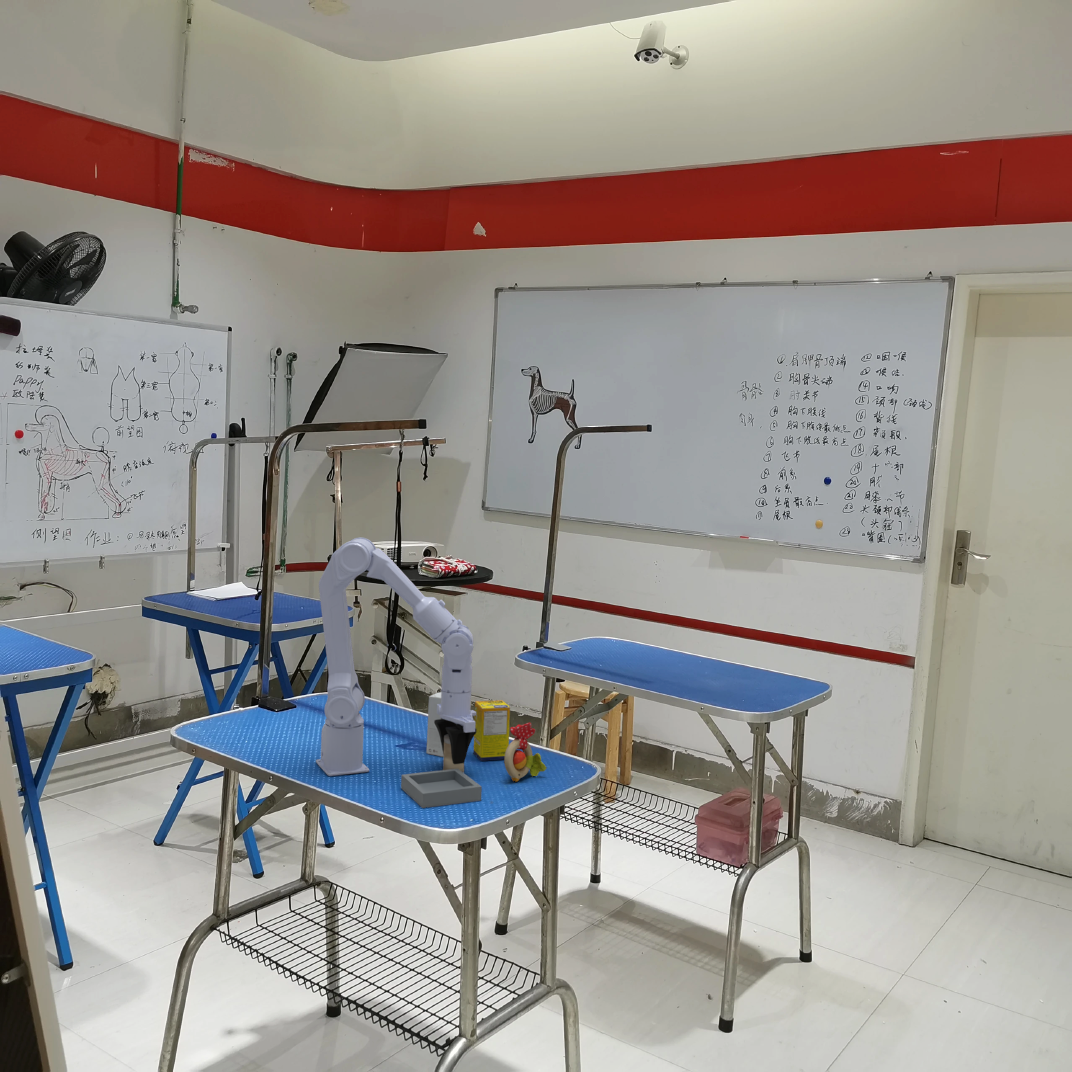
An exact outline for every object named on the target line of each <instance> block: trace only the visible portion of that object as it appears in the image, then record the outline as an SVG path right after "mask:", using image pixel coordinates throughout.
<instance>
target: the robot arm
mask: <svg viewBox="0 0 1072 1072" xmlns="http://www.w3.org/2000/svg"><path fill="white" fill-rule="evenodd" d="M365 571H368V572H367V574H366V577H367V578H372V579H375V580H376V579H377V580H381V581H384V583H385V584H386V585H387V586H388V587H389V588H391V590H393V591H394V592H395V593H396V594H397V595H398V596H399V597H400V598H401V600H403V601H405V603H406V604H407V605H408V606H410V607H411V608H412V619H413V621H415V622H416V623H417V625H419V626H420V627H421V628H422V629H423V630H424V631H425V632H426V633H427V634H428V635H429V637H430V638H432V640H434V641H435V642H436V643H439V644H440V646H441V647H440V648H441V651H442V654H443V665H442V666H441V688H440V689H441V690H440V692H441V704H437V714H438V715H439V716H440V718H441V719H438V720H434V723H435V725H436V727H437V730H438V732H439V735H440V739H441V744H442V750H443V754H444V736H445V735H447V734H448V736H449V739H450V744H451V754H452V761H453V764H461V763H464V764H465V761H466V758H467V754H468V750H469V747H470V745H471V742H472V740H473V739H474V735H475V734H476V731H477V729H476V728H475V721H474V720H475V719H474V718H473V717H475V716H476V712H475V709H474V710H473V709H472V708H471V707H472V706H471V705H472V686H473V685H472V684H473V666H472V661H473V657H472V653H473V650H474V636H473V635H474V634H473V633H472V632H471V630H470V629H469V627H468V626H466V625H465V624H463V621H462V620H461V619H460V618H459V619H456V617H455V616H454V615H452V613H451V612H450V611H449V610H448V609H447V608H446V607H445V606H446V603H445V602H444V600H443V599H440V600H439V599H438V598H436V597H434V596H425V595H424V594H423V593H422V592H421V591H420V589H419V588H418V587H417V586H416V585H415V584H414V582H412V581H411V580H410V579H409V577H408V576H407V575H406V574H405V572H403V571H402V569H400V568H399V566H397V564H396V563H395V562H394V561H393V560H392V559H391V557H389V556H388V555H387V554H386V553H385V551H383V550H382V549H380V548H379V547H376V545H375V544H374V543H373V542H372V541H371V540H370V539H368V538H366V537H361V536H360V537H355V538H353V539H351V540H349V541H347V542H345V543H343V544H342V545H341V546H339V548H338V549H336V550H335V551H334V552H333V553H332V555H331V557H330V559H329V562H328V563H327V565H326V568H325V569H324V571H323V572H322V575H321V577H320V579H319V581H318V591H319V592H318V593H319V600H320V601H319V602H320V609H321V610H320V611H321V617H322V624H323V625H322V626H323V627H322V628H323V633H324V634H323V637H324V644H325V653H326V660H327V661H326V662H327V670H328V672H327V673H328V679H327V680H328V682H327V688H326V689H327V690H326V691H327V699H326V702H325V705H324V709H323V711H324V715H325V717H326V719H325V720H324V722H325V723H324V724H323V725H322V729H321V733H320V734H321V737H320V739H321V741H320V758H319V759H316V760H315V763H316V764H317V765H318V766H319V768H321V770H322V771H323V772H324V773H325V774H326V775H327V776H329V777H332V776H333V777H334V776H343V775H350V774H359V773H368V772H370V769H369V767H368V766H366V765H365V764H364V763H363V762H364V761H363V758H364V757H363V756H364V753H363V752H364V725H365V724H364V723H365V722H364V721H365V719H364V718H363V717H362V715H361V713H360V711H361V710H362V709H363V708H364V706H365V703H366V697H365V693H364V691H363V690H362V688H361V686H360V684H359V678H358V675H357V673H356V671H355V662H354V660H355V659H354V653H353V643H352V636H351V635H352V633H351V627H350V626H351V625H350V617H349V607H348V600H347V589H348V587H349V586H350V585H351V584H352V583H353V582H354V580H355V579H356V578H357V577H358V576H360V575H361V574H363V573H364V572H365Z"/></svg>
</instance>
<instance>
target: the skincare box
mask: <svg viewBox="0 0 1072 1072" xmlns="http://www.w3.org/2000/svg"><path fill="white" fill-rule="evenodd" d="M437 704H441V691H440V692H436V693H434V694H432V695H430V696H429V695H428V706H427V707H428V708H427V709H428V710H427V713H428V714H427V731H426V732H427V734H426V735H427V736H426V752H425V753H426V754H428V755H434V756H438V757H442V758H444V754H443V750H442V744H441V739H440V735H439V732H438V730H437V727H436V725H435V723H434V720H438V719H441V718H440V716H439V715H438V714H437Z"/></svg>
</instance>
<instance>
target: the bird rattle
mask: <svg viewBox="0 0 1072 1072" xmlns="http://www.w3.org/2000/svg"><path fill="white" fill-rule="evenodd" d="M509 733H511V735H512V736H514V737H515V738H514V739H513V740H512V741H511V742H509V746H508V747H507V750H506V752H505V758H504V759H503V760H504V761H503V762H504V768H505V771H506V772H507V774H508V776H509V777H510V778H511V780H512V782H514V781H515V782H514V783H516V782H518V781H520V780H521V778H523V777H525V776H526V775H527V774H528V773H530V775H531V777H533V776H538V775H539V773H541V772H545V771H546V770H547V768H548V767H547V766H546V764H544V762H543V761H542V755H541V754H540V753H538V752H537V753H535V754H534V755H533V750H532V746H531V745H530V743H529V742H528V739H530V738H531V737H532V736H534V735H535V733H536V729H535V728H532V723H531V722H530V721H529V722H526V723H524V724H517V725H516V726H511V727H509Z"/></svg>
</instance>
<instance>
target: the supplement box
mask: <svg viewBox="0 0 1072 1072" xmlns="http://www.w3.org/2000/svg"><path fill="white" fill-rule="evenodd" d="M474 711H475V712H476V716H474V719H473V720H474V721H475V728H476V729H477V731H476V734H475V735H474V737H473V754H474V755H475V756H476V758H477V759H478V760H479V761H480V762H486V761H498V760H499V761H500V760H502V761H503V760H504V758H505V752H506V750H507V747H508V746H509V744H510V725H511V724H510V720H511V719H510V718H511V717H510V716H511V707H510V705H509V704H507V703H506V702H505V701H504V700H503V699H501V700H500V699H499V700H497V699H496V700H480V701H479V700H476V701H474Z"/></svg>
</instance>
